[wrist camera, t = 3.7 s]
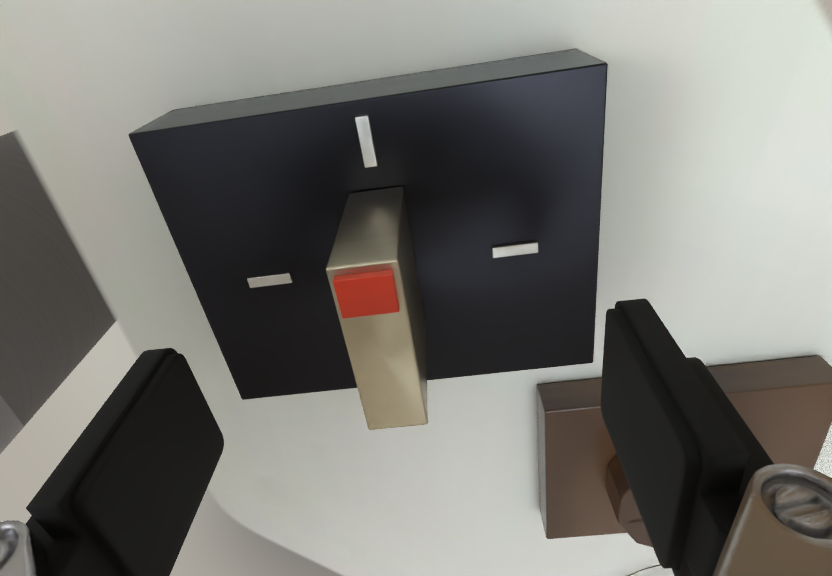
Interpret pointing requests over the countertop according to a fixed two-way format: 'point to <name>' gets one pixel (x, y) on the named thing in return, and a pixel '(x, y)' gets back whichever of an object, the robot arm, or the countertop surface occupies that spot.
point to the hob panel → (426, 206)
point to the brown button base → (599, 464)
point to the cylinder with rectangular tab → (655, 572)
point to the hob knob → (381, 307)
